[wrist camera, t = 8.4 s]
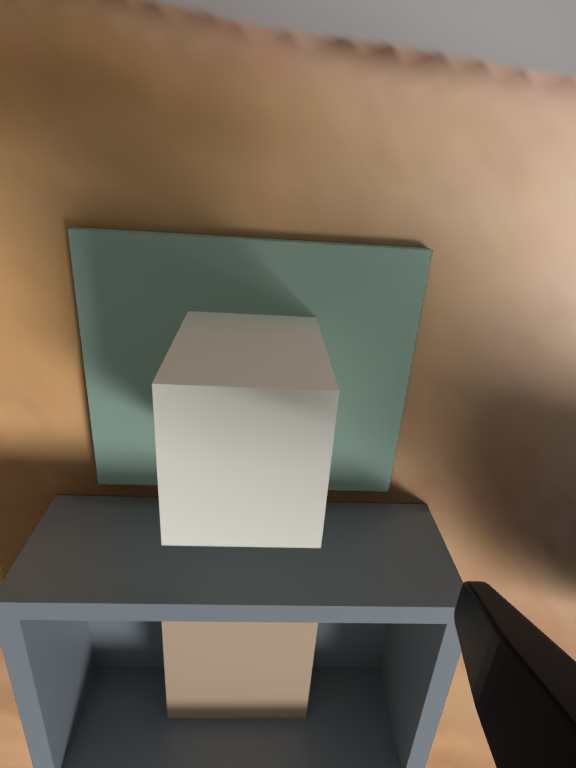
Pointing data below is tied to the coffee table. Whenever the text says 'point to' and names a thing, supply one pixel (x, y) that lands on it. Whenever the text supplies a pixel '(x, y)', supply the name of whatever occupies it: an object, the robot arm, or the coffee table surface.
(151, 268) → the board
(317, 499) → the block
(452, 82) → the coffee table surface
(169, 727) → the slot box
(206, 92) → the coffee table surface
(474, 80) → the coffee table surface
